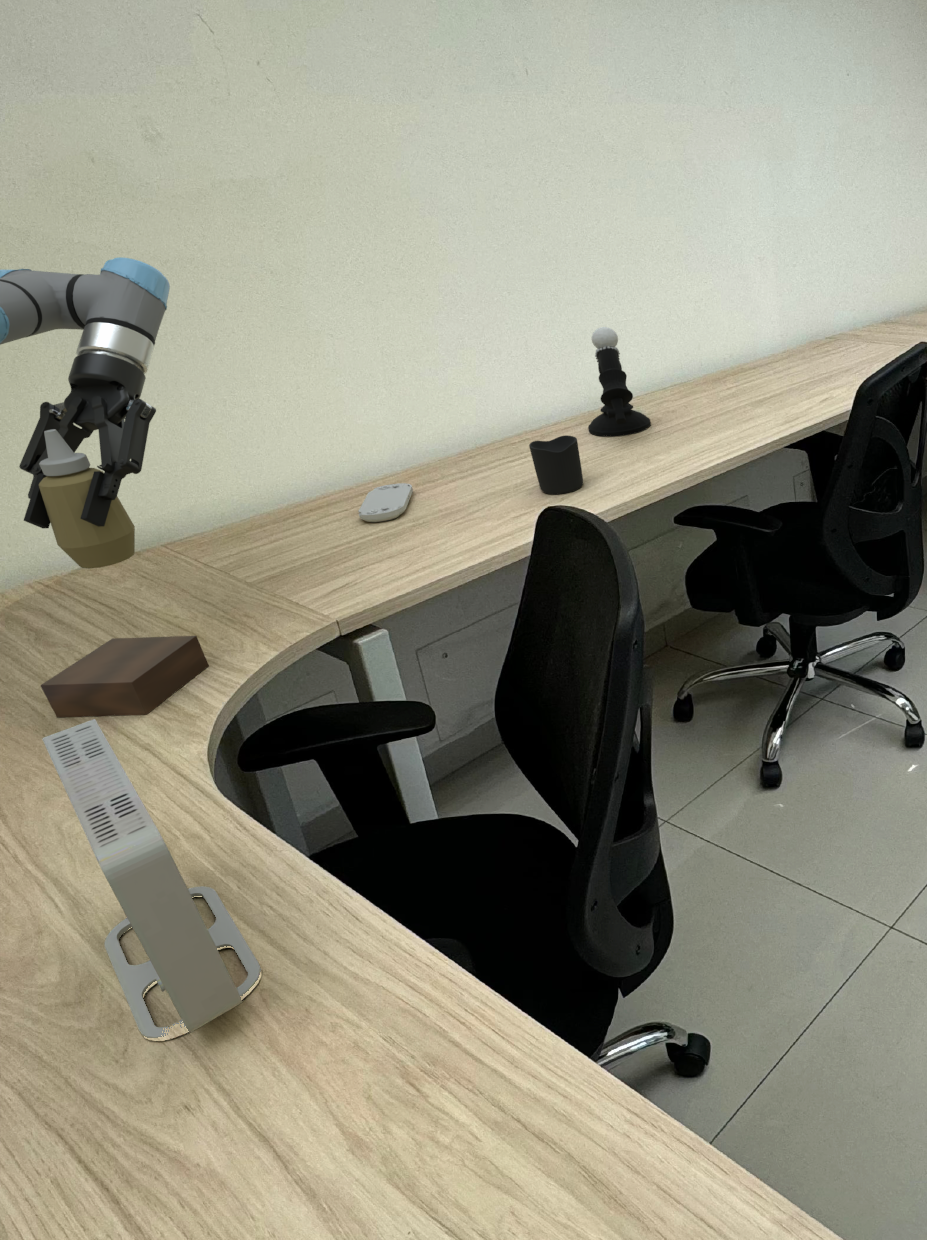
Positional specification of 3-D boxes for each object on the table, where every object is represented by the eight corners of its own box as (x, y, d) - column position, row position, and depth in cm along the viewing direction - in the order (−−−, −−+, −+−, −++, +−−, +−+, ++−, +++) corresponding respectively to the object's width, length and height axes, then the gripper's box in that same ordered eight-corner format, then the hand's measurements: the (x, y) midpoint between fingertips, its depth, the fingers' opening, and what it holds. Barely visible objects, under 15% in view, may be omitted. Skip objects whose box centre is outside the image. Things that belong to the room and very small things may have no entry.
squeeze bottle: (153, 543, 126) (100, 418, 118) (134, 566, 119) (76, 434, 112) (83, 554, 124) (24, 426, 116) (58, 578, 117) (-5, 444, 109)
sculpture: (647, 416, 239) (632, 319, 228) (658, 441, 219) (642, 336, 208) (587, 423, 235) (569, 325, 224) (592, 450, 214) (573, 343, 204)
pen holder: (572, 496, 187) (563, 449, 182) (530, 495, 188) (520, 449, 184) (593, 480, 195) (584, 435, 191) (552, 479, 197) (543, 435, 192)
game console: (400, 508, 177) (354, 514, 175) (404, 519, 178) (358, 526, 176) (413, 479, 193) (370, 484, 191) (416, 489, 194) (373, 495, 192)
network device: (284, 1006, 77) (199, 822, 69) (160, 1080, 71) (51, 889, 63) (200, 866, 93) (122, 702, 84) (93, 917, 87) (-2, 747, 78)
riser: (56, 717, 119) (40, 685, 117) (126, 668, 130) (112, 638, 128) (146, 714, 119) (131, 682, 117) (209, 665, 130) (196, 635, 128)
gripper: (203, 377, 126) (163, 531, 119) (64, 382, 127) (15, 536, 119) (161, 347, 119) (115, 509, 112) (14, 353, 120) (-41, 514, 112)
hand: (64, 523), depth 115 cm, fingers closed on squeeze bottle, 6 cm apart
